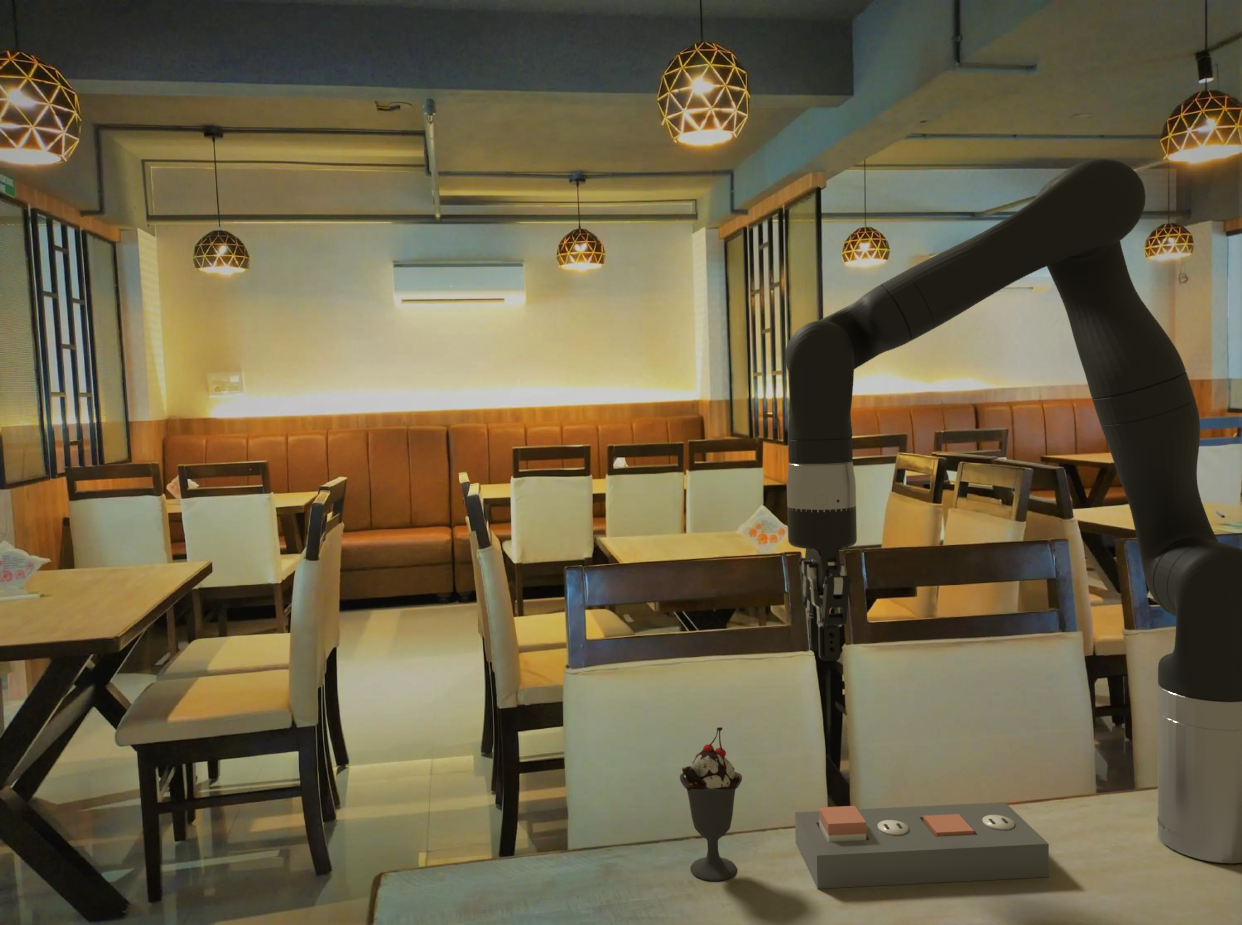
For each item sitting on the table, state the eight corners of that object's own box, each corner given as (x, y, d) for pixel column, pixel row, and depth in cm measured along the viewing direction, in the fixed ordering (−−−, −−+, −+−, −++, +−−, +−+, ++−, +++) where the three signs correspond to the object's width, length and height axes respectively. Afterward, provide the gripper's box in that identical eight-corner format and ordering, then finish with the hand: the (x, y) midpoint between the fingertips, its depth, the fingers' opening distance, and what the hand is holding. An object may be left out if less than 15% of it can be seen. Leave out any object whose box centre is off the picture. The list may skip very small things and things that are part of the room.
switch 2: (959, 836, 101) (958, 814, 101) (974, 853, 97) (974, 830, 97) (923, 837, 101) (923, 815, 101) (937, 855, 97) (936, 832, 97)
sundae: (743, 854, 102) (739, 721, 101) (745, 886, 95) (741, 743, 94) (683, 853, 102) (679, 721, 101) (681, 885, 96) (677, 743, 95)
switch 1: (855, 827, 101) (855, 805, 101) (866, 845, 97) (866, 822, 97) (819, 829, 101) (818, 807, 101) (828, 847, 97) (828, 824, 97)
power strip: (1005, 832, 105) (1004, 799, 105) (1048, 876, 95) (1048, 840, 95) (795, 842, 104) (794, 809, 104) (817, 888, 94) (816, 852, 94)
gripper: (874, 508, 96) (877, 671, 97) (837, 495, 110) (840, 637, 111) (802, 511, 96) (806, 674, 97) (775, 498, 110) (778, 640, 111)
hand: (824, 654), depth 104 cm, fingers open, 3 cm apart
